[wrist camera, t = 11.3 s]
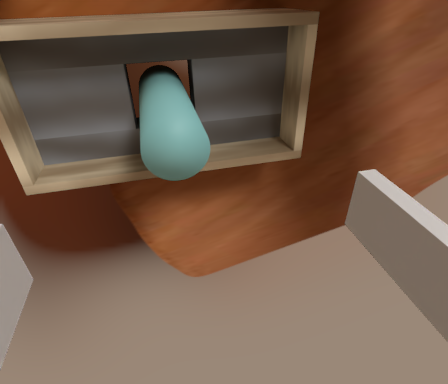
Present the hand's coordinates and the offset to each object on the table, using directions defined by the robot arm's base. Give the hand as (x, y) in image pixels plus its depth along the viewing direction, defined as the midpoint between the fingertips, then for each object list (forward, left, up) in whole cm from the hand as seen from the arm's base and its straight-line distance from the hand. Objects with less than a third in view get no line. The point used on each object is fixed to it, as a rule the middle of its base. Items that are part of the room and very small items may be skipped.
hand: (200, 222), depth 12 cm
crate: (0, 0, -21) cm, 21 cm away
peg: (0, 0, -21) cm, 21 cm away
